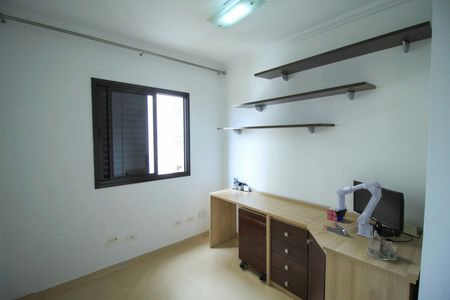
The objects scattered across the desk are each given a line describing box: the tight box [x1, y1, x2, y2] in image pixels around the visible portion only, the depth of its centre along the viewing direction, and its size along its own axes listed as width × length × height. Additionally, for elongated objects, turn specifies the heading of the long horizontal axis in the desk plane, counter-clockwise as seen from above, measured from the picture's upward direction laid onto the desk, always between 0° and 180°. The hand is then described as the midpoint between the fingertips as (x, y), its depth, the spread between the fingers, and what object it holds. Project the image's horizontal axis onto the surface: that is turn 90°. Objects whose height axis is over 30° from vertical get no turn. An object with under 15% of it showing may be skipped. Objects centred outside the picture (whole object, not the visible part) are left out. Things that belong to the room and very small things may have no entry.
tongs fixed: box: [323, 224, 348, 237], centre depth 176 cm, size 18×3×4 cm, turn 36°
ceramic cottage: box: [365, 230, 399, 261], centre depth 140 cm, size 16×16×15 cm
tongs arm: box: [333, 222, 346, 231], centre depth 179 cm, size 15×2×4 cm, turn 1°
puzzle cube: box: [326, 206, 344, 223], centre depth 204 cm, size 10×10×10 cm
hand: (340, 217), depth 185 cm, fingers open, 7 cm apart
